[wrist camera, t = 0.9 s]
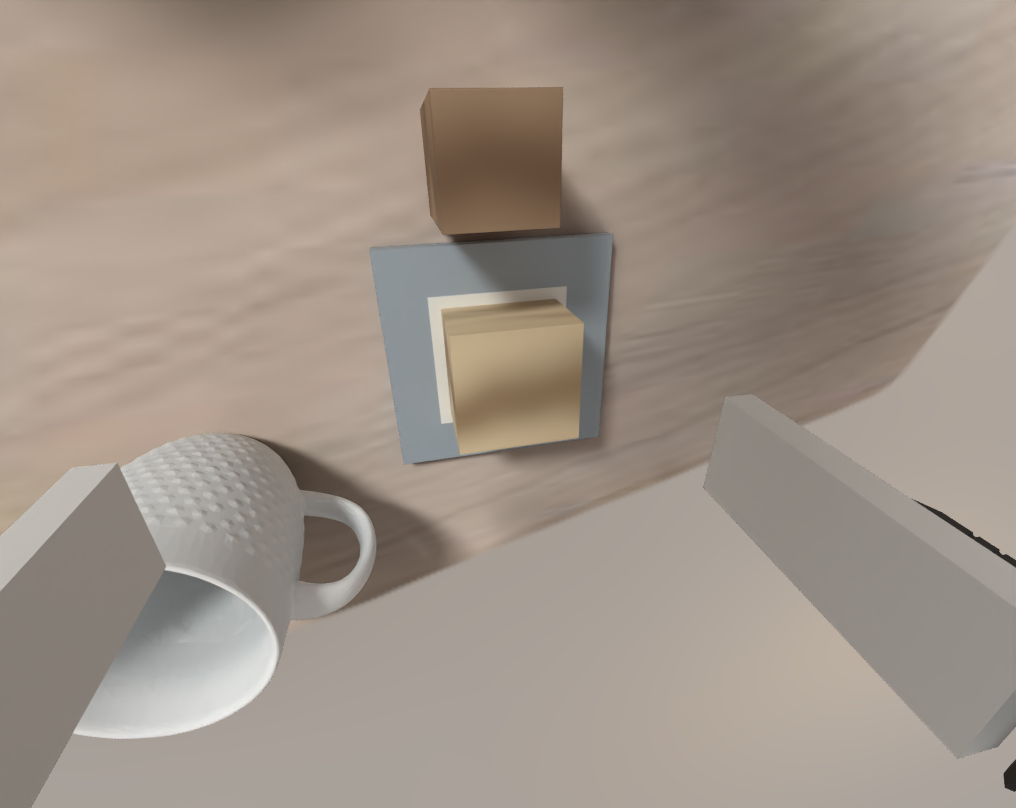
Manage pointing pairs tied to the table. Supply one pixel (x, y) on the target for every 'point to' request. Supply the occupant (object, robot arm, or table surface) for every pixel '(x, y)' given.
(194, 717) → the mug
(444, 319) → the oak block
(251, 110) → the table surface
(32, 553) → the robot arm
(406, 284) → the blueprint board
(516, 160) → the walnut block
